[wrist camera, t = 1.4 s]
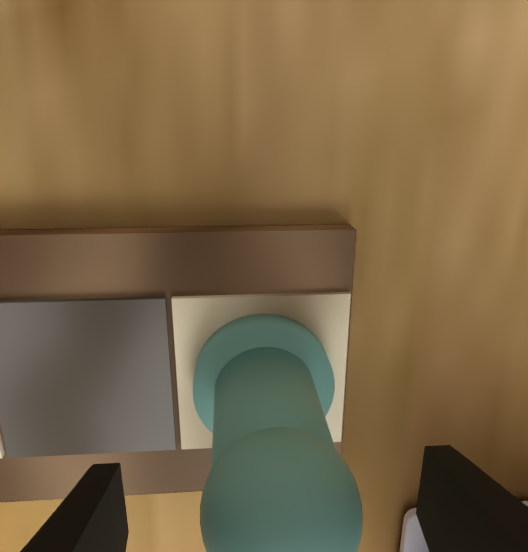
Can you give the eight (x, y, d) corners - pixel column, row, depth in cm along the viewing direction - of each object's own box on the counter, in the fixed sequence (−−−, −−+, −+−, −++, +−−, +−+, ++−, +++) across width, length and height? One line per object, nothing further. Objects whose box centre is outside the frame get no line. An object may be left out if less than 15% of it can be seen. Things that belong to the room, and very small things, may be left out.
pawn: (331, 311, 15) (423, 480, 8) (325, 428, 17) (399, 659, 10) (191, 315, 15) (158, 496, 8) (197, 434, 16) (174, 678, 9)
